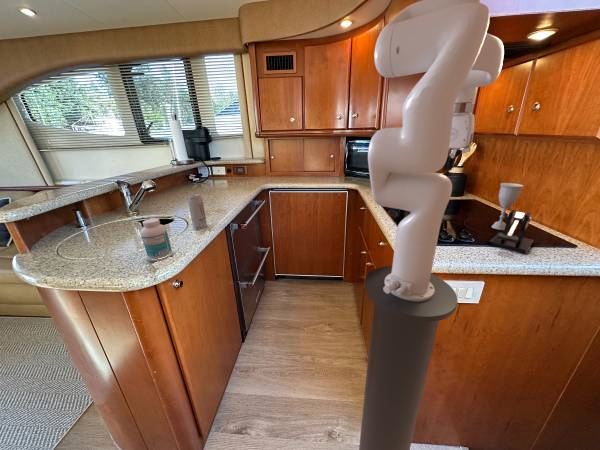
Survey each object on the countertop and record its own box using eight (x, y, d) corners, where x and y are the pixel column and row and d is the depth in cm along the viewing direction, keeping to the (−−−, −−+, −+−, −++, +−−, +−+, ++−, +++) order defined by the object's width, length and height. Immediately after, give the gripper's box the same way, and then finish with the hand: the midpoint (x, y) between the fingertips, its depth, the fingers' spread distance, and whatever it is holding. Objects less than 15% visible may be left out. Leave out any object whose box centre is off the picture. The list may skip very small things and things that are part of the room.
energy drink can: (203, 229, 106) (197, 196, 101) (190, 229, 107) (184, 196, 101) (209, 224, 112) (204, 193, 106) (197, 224, 112) (191, 193, 107)
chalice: (485, 224, 102) (496, 182, 96) (502, 224, 101) (515, 182, 95) (495, 230, 96) (507, 186, 89) (514, 231, 94) (528, 186, 88)
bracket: (525, 254, 77) (537, 220, 73) (488, 244, 84) (497, 213, 80) (533, 243, 84) (544, 212, 80) (498, 235, 91) (506, 206, 87)
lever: (516, 244, 76) (517, 239, 75) (497, 239, 80) (498, 235, 78) (529, 219, 80) (530, 214, 78) (510, 215, 83) (511, 210, 82)
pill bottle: (157, 252, 86) (148, 216, 81) (177, 252, 85) (168, 216, 81) (143, 262, 79) (131, 224, 74) (163, 262, 78) (153, 224, 74)
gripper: (429, 112, 78) (420, 169, 84) (483, 107, 67) (468, 173, 73) (438, 114, 83) (429, 167, 89) (491, 109, 72) (476, 171, 78)
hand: (447, 170), depth 81 cm, fingers closed
